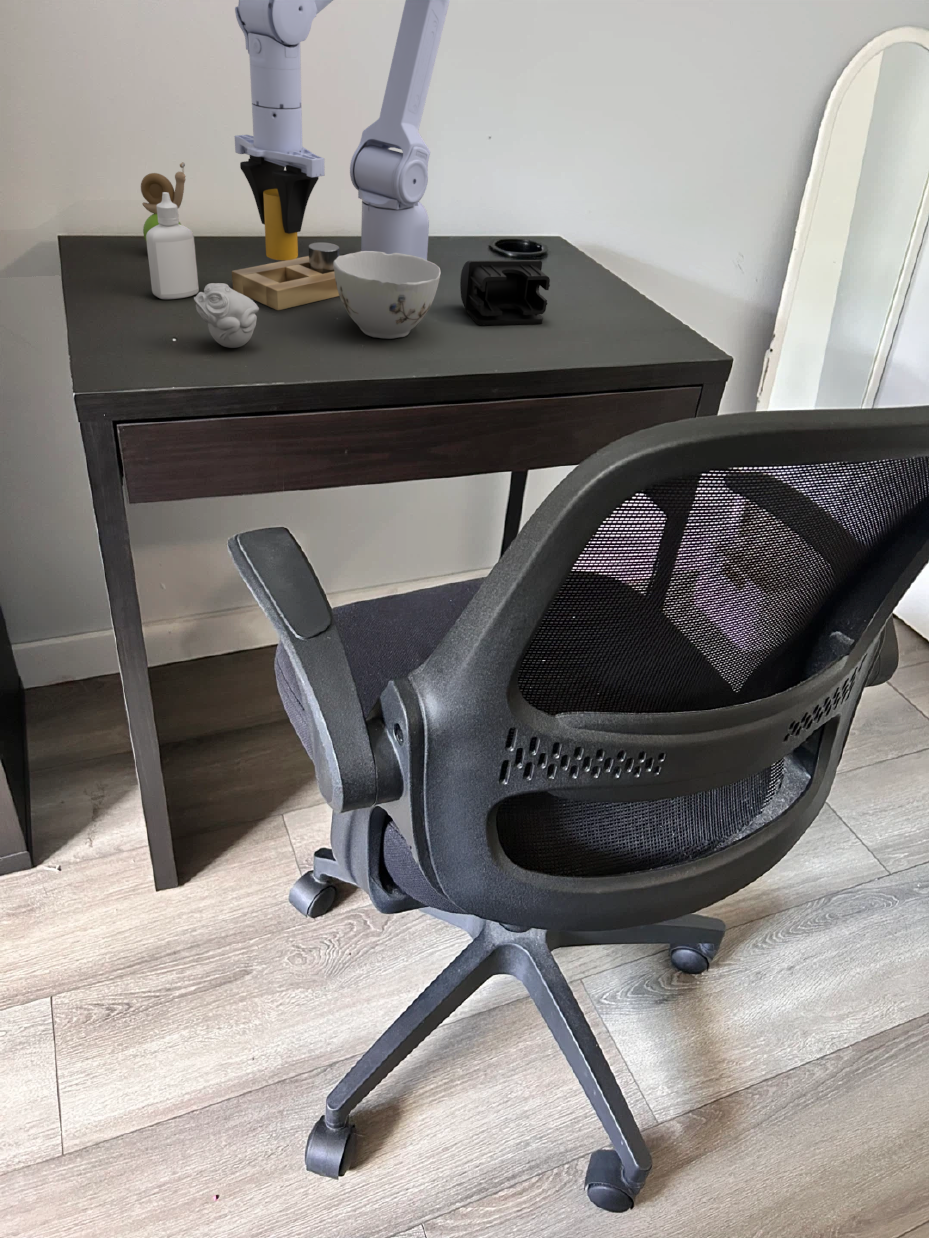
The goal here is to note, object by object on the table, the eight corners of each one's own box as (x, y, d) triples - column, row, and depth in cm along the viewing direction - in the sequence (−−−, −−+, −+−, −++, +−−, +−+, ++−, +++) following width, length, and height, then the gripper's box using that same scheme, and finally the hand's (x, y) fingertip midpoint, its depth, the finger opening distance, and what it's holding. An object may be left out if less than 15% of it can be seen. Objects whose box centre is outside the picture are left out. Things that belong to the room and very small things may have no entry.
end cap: (527, 305, 125) (533, 254, 120) (547, 324, 119) (554, 270, 115) (457, 307, 122) (461, 254, 117) (475, 326, 116) (480, 271, 112)
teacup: (453, 345, 110) (459, 277, 106) (356, 354, 105) (357, 284, 100) (403, 304, 121) (405, 240, 116) (312, 311, 116) (311, 245, 111)
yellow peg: (284, 249, 119) (282, 187, 115) (304, 257, 117) (303, 194, 113) (259, 254, 117) (256, 191, 112) (279, 262, 115) (277, 198, 110)
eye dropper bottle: (198, 300, 115) (189, 198, 108) (152, 300, 114) (139, 196, 107) (199, 289, 118) (190, 189, 111) (153, 288, 117) (141, 187, 110)
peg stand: (232, 290, 119) (231, 271, 118) (327, 270, 129) (327, 252, 128) (277, 310, 115) (277, 290, 113) (372, 288, 125) (372, 269, 123)
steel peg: (325, 278, 126) (325, 240, 123) (345, 286, 124) (345, 248, 121) (303, 283, 124) (302, 245, 121) (322, 291, 122) (322, 252, 119)
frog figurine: (194, 338, 105) (188, 276, 101) (255, 335, 107) (252, 274, 103) (202, 358, 101) (197, 294, 96) (266, 354, 103) (263, 292, 99)
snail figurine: (187, 261, 127) (178, 167, 120) (140, 257, 127) (129, 162, 120) (197, 250, 132) (189, 159, 124) (152, 246, 131) (141, 154, 124)
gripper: (210, 96, 108) (219, 218, 116) (289, 118, 101) (293, 246, 109) (258, 93, 112) (264, 211, 120) (338, 114, 105) (338, 238, 113)
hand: (280, 227), depth 115 cm, fingers closed on yellow peg, 4 cm apart
